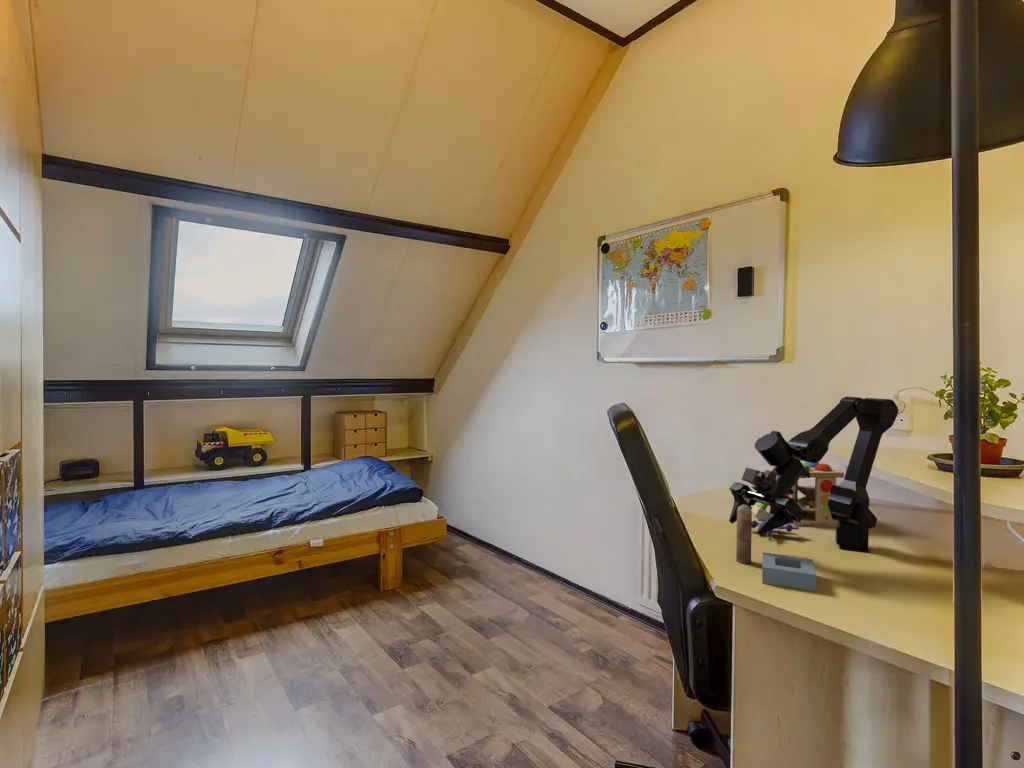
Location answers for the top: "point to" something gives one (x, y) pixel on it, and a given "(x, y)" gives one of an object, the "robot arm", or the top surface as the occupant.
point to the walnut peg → (744, 534)
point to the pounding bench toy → (811, 497)
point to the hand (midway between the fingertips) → (744, 527)
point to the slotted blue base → (788, 571)
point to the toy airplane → (788, 527)
